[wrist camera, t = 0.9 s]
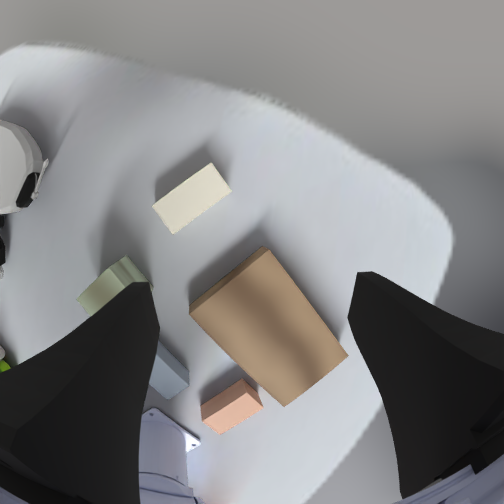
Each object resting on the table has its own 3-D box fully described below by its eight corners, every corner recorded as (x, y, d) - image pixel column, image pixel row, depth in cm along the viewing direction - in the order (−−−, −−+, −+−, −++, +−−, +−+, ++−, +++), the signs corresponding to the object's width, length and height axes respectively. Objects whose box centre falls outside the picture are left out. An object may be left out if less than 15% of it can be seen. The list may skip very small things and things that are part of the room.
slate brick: (189, 370, 28) (189, 385, 25) (168, 384, 27) (167, 400, 24) (150, 330, 26) (145, 343, 23) (130, 346, 26) (124, 359, 23)
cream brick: (175, 232, 25) (173, 235, 23) (156, 206, 25) (151, 205, 22) (227, 193, 26) (232, 191, 23) (209, 167, 25) (211, 162, 22)
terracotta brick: (217, 418, 29) (220, 434, 26) (200, 404, 28) (201, 421, 26) (257, 392, 30) (263, 407, 27) (241, 377, 29) (246, 392, 26)
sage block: (125, 312, 25) (109, 337, 20) (98, 280, 24) (76, 299, 19) (153, 287, 26) (143, 308, 20) (126, 255, 25) (108, 267, 19)
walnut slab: (277, 394, 30) (284, 407, 28) (189, 305, 26) (189, 314, 24) (338, 346, 31) (348, 355, 28) (262, 246, 27) (269, 249, 25)
